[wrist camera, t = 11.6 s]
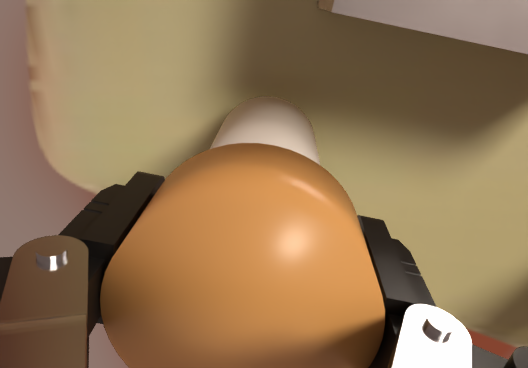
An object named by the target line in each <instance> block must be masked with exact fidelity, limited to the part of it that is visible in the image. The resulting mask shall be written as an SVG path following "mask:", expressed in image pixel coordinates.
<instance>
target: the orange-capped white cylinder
mask: <svg viewBox="0 0 528 368" xmlns="http://www.w3.org/2000/svg"><path fill="white" fill-rule="evenodd" d="M100 307H101V316H102V320H103V324H104V328H105V330H106V333H107V335H108V337H109V340H110V342H111V343H112V345H113V347H114V349H115V350H116V352H117V353H118V355H119V356H120V357H121V358H122V360H123V361H124V362H125V364H126V365H127V366H128V367H129V368H368V367H369V366H370V365H371V363H372V361H373V359H374V358H375V356H376V354H377V352H378V350H379V347H380V344H381V341H382V339H383V333H384V327H385V308H384V302H383V297H382V293H381V290H380V286H379V283H378V280H377V277H376V274H375V271H374V268H373V264H372V261H371V258H370V255H369V252H368V249H367V245H366V242H365V239H364V236H363V233H362V230H361V226H360V223H359V220H358V217H357V214H356V211H355V209H354V206H353V203H352V202H351V200H350V198H349V196H348V194H347V192H346V191H345V190H344V188H343V187H342V186H341V184H340V183H339V182H338V181H337V180H336V179H335V178H334V177H333V176H332V175H331V174H330V173H329V172H328V171H327V170H326V169H324V168H323V167H322V166H320V161H319V156H318V151H317V146H316V140H315V135H314V131H313V128H312V125H311V123H310V121H309V119H308V118H307V117H306V115H305V114H304V113H303V112H302V111H301V110H300V109H299V108H298V107H297V106H295V105H294V104H292V103H291V102H289V101H286V100H284V99H281V98H277V97H271V96H262V97H255V98H251V99H249V100H246V101H244V102H242V103H241V104H239V105H238V106H236V107H235V108H234V109H233V110H232V111H231V112H230V113H229V114H228V115H227V117H226V118H225V120H224V122H223V124H222V126H221V128H220V130H219V132H218V134H217V136H216V137H215V139H214V141H213V143H212V145H211V147H210V149H209V150H207V151H204V152H201V153H199V154H197V155H195V156H193V157H192V158H190V159H188V160H186V161H185V162H184V163H182V164H181V165H180V166H178V167H177V168H176V169H175V170H174V171H173V172H172V173H171V174H170V175H169V176H168V177H167V178H166V179H165V181H164V182H163V183H162V185H161V186H160V188H159V189H158V190H157V192H156V193H155V195H154V196H153V198H152V199H151V201H150V202H149V204H148V205H147V207H146V208H145V210H144V211H143V213H142V214H141V216H140V217H139V219H138V220H137V222H136V223H135V225H134V226H133V228H132V229H131V230H130V232H129V233H128V235H127V236H126V238H125V239H124V241H123V242H122V244H121V245H120V247H119V248H118V250H117V251H116V253H115V254H114V256H113V257H112V259H111V261H110V263H109V265H108V267H107V269H106V271H105V275H104V278H103V282H102V285H101V295H100Z"/></svg>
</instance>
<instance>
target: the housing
mask: <svg viewBox="0 0 528 368" xmlns="http://www.w3.org/2000/svg"><path fill="white" fill-rule="evenodd" d="M317 8H320V9H323V10H326V11H329V12H333V13H338V14H342V15H347V16H352V17H356V18H361V19H366V20H370V21H375V22H380V23H384V24H389V25H394V26H398V27H403V28H408V29H412V30H417V31H422V32H426V33H431V34H436V35H440V36H445V37H450V38H454V39H459V40H464V41H468V42H473V43H478V44H482V45H487V46H492V47H496V48H501V49H506V50H510V51H515V52H520V53H524V54H528V0H319V2H318V7H317Z"/></svg>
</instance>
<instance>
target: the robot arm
mask: <svg viewBox="0 0 528 368" xmlns="http://www.w3.org/2000/svg"><path fill="white" fill-rule="evenodd" d="M164 181H165V179H164V176H159V175H154V174H149V173H144V172H137V173H136V174H135V175H134V176H133V177H132V178H131V180H130V181H129V182H128V183H127V184H126V185H125V186H123V185H118V184H115V185H113V186H111V187H108V188H106V189H104V190H102V191H100V192H99V193H98V194H97V195H96V196H95V197H94V199H92V201H91V202H90V203H89V204H88V205H87V206H86V207H85V208H84V210H82V211H81V212H80V213H79V214H78V215H77V216H76V217H75V218H74V219H73V220H72V221H71V222H70V223H69V224H68V225H67V227H66V228H65V229H64V230H63V231H62V232H61V233H60V234H59V235H54V236H45V237H41V238H37V239H34V240H32V241H29V242H27V243H25V244H24V245H22V246H21V247H20V248H19V249H17V251H16V252H15V254H14V255H13V257H3V258H2V257H1V258H0V368H88V367H89V366H88V365H89V335H90V333H91V332H92V330H93V328H94V326H95V325H96V323H100V324H103V320H102V316H101V307H100V295H101V285H102V282H103V278H104V275H105V271H106V269H107V267H108V265H109V263H110V261H111V259H112V257H113V256H114V254H115V253H116V251H117V250H118V248H119V247H120V245H121V244H122V242H123V241H124V239H125V238H126V236H127V235H128V233H129V232H130V230H131V229H132V228H133V226H134V225H135V223H136V222H137V220H138V219H139V217H140V216H141V214H142V213H143V211H144V210H145V208H146V207H147V205H148V204H149V202H150V201H151V199H152V198H153V196H154V195H155V193H156V192H157V190H158V189H159V188H160V186H161V185H162V183H163V182H164ZM357 217H358V220H359V223H360V226H361V230H362V233H363V236H364V239H365V242H366V245H367V249H368V252H369V255H370V258H371V261H372V264H373V268H374V271H375V274H376V277H377V280H378V283H379V286H380V290H381V293H382V297H383V302H384V308H385V327H384V333H383V339H382V341H381V344H380V347H379V350H378V352H377V354H376V356H375V358H374V359H373V361H372V363H371V365H370V366H369V367H368V368H528V347H527V346H526V347H519V348H517V349H515V351H514V352H513V354H512V355H511V357H510V358H509V360H508V359H505V358H503V357H500V356H498V355H496V354H493V353H490V352H489V351H486V350H484V349H482V348H479V347H477V346H475V345H473V344H472V341H471V337H470V335H469V333H468V331H467V330H466V328H465V327H464V326H463V325H462V324H461V323H460V322H459V321H458V320H457V319H456V318H455V317H453V316H452V315H450V314H449V313H447V312H445V311H443V310H441V309H439V308H437V307H436V305H435V303H434V301H433V299H432V297H431V294H430V292H429V290H428V288H427V286H426V284H425V282H424V280H423V278H422V276H420V274H421V273H420V271H419V269H418V267H417V266H416V263H415V261H414V259H413V257H412V255H411V253H410V251H409V250H408V249H407V248H406V247H405V246H404V245H403V244H402V243H401V242H400V241H399V240H397V239H392V238H391V236H390V234H389V232H388V229H387V227H386V225H385V222H384V221H383V220H380V219H375V218H370V217H365V216H360V215H357Z"/></svg>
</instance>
